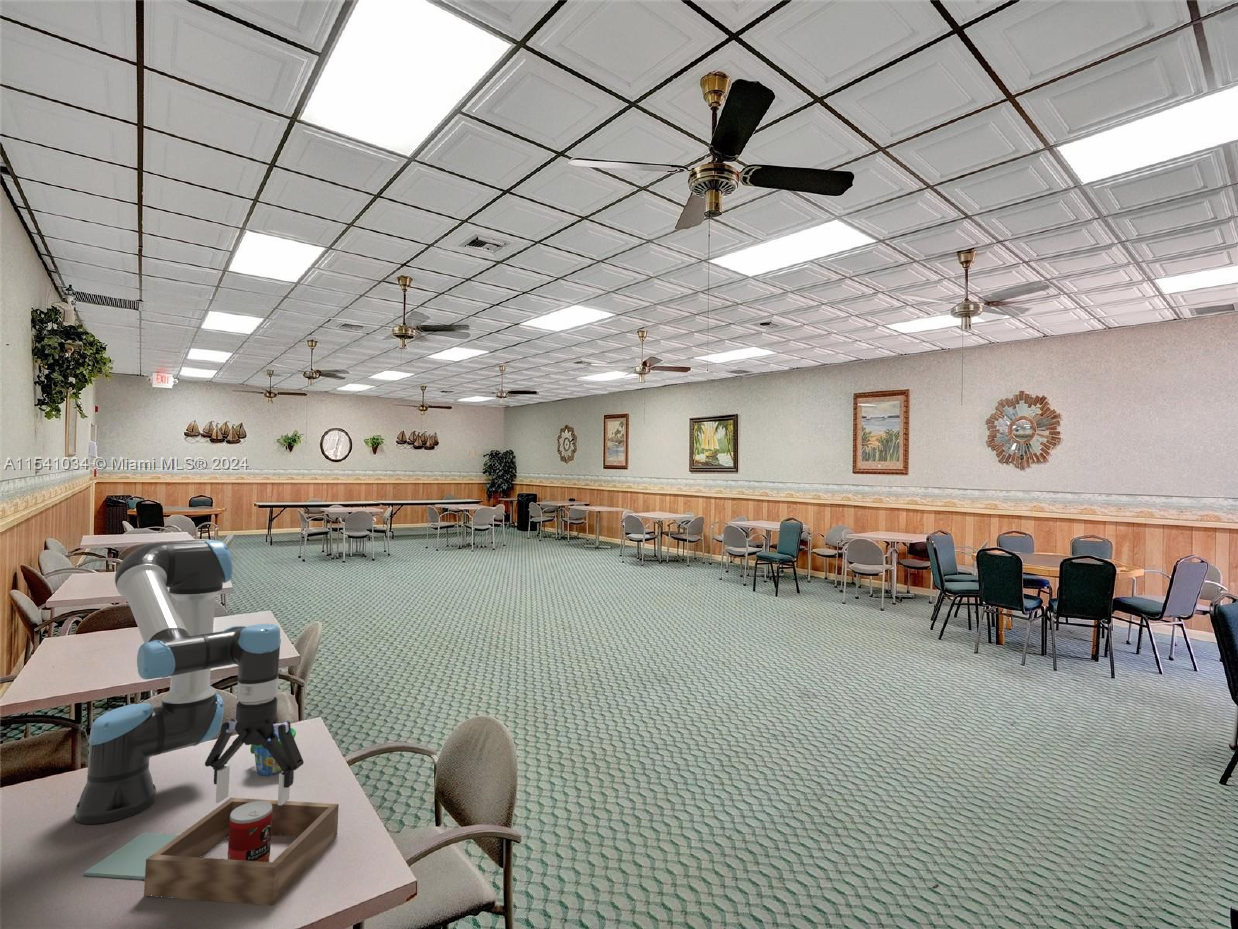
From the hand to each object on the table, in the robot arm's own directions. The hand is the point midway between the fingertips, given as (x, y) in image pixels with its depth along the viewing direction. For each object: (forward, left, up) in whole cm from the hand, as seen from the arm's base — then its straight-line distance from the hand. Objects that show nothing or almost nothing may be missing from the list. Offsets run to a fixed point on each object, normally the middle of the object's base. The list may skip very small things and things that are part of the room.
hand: (252, 801), depth 125 cm
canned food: (0, 0, -13) cm, 13 cm away
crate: (0, 0, -13) cm, 13 cm away
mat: (-23, 0, -13) cm, 27 cm away
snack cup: (-21, +39, -13) cm, 47 cm away
